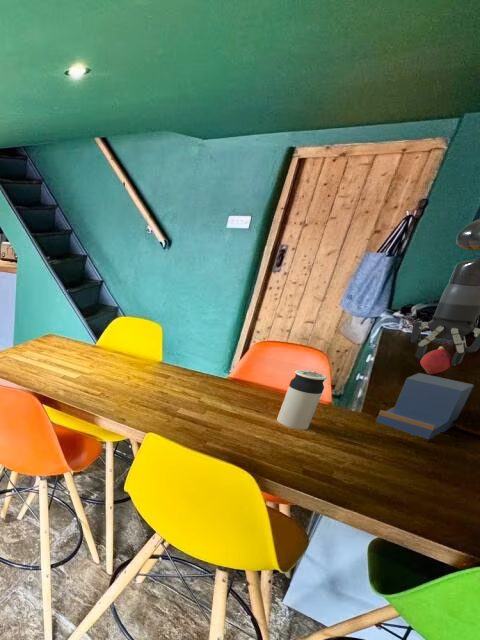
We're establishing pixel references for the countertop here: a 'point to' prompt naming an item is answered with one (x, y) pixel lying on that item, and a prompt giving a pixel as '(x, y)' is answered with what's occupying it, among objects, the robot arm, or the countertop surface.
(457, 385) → the stand
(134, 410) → the countertop surface
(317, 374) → the travel mug
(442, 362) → the onion
